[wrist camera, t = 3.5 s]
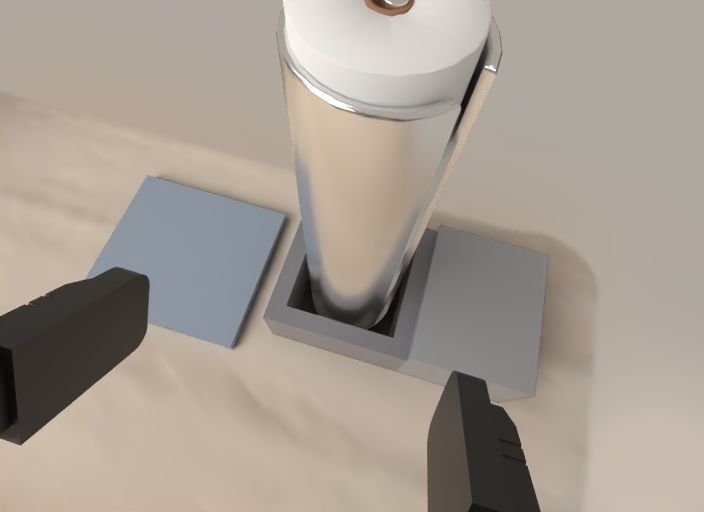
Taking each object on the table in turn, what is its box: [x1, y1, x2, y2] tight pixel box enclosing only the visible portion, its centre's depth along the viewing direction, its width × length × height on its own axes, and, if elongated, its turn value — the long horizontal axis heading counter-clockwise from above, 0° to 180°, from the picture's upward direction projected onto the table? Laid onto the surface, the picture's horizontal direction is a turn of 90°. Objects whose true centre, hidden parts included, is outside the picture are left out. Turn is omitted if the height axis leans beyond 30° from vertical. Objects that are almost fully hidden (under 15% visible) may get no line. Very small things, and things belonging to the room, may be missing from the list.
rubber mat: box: [85, 175, 286, 349], centre depth 34 cm, size 13×12×1 cm
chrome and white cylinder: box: [276, 0, 502, 330], centre depth 22 cm, size 6×6×25 cm
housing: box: [263, 219, 549, 403], centre depth 30 cm, size 18×10×6 cm, turn 74°
